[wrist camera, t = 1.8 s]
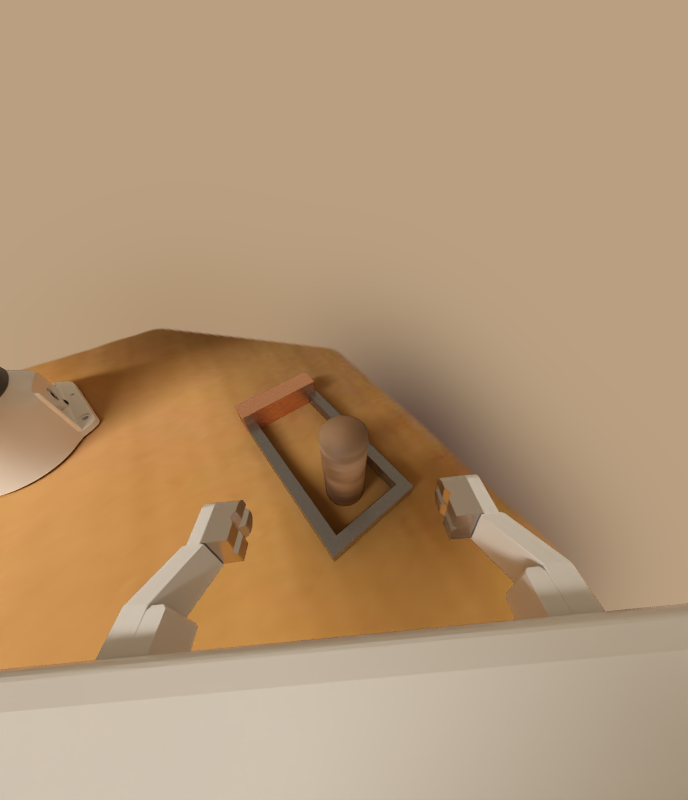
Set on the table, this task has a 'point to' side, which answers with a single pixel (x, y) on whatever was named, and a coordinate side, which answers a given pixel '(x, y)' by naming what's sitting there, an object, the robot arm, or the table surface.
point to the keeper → (344, 458)
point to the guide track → (256, 417)
